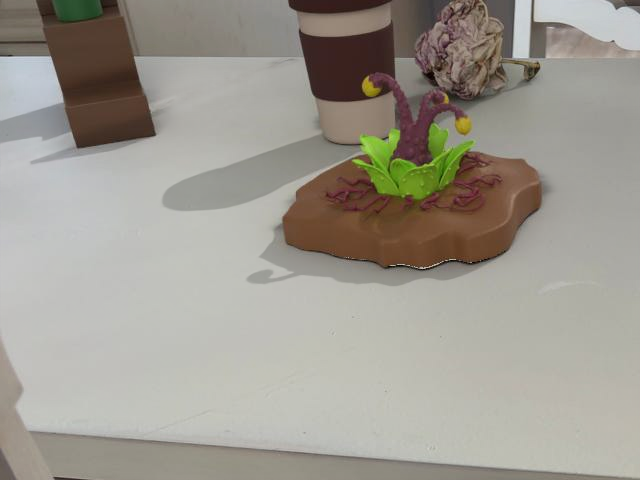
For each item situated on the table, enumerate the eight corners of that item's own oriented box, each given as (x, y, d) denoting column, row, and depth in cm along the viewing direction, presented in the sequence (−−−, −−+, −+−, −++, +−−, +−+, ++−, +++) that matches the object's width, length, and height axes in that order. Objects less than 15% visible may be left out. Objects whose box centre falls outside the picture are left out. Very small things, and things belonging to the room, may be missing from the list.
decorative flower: (510, 25, 115) (389, 14, 108) (558, -18, 106) (429, -33, 99) (521, 119, 116) (402, 114, 109) (570, 84, 107) (443, 76, 100)
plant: (359, 167, 94) (341, 35, 87) (563, 182, 88) (562, 41, 81) (251, 256, 80) (219, 107, 73) (485, 280, 74) (475, 120, 67)
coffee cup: (346, 114, 107) (324, -50, 97) (427, 123, 103) (412, -47, 93) (290, 144, 100) (260, -28, 91) (374, 155, 96) (352, -24, 87)
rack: (156, 135, 105) (124, 12, 98) (77, 148, 103) (38, 24, 96) (143, 102, 115) (113, -12, 107) (70, 114, 113) (35, -2, 105)
